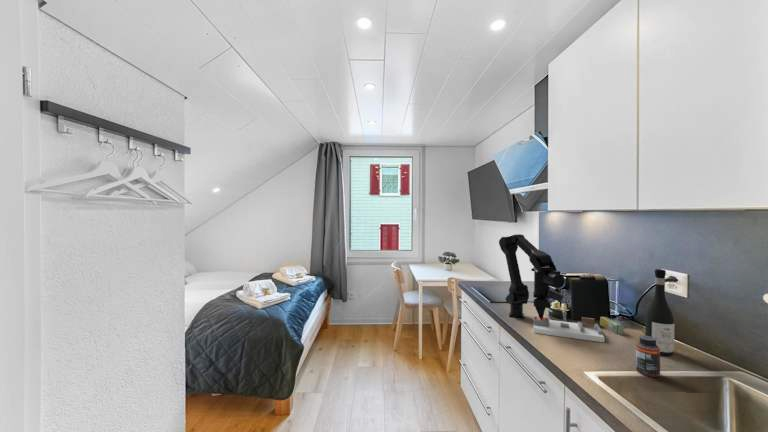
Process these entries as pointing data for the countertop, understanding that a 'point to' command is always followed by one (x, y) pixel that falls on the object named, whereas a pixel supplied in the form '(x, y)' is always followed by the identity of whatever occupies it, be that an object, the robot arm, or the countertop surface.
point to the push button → (540, 319)
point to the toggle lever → (564, 315)
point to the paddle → (588, 322)
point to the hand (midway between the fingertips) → (541, 318)
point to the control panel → (568, 330)
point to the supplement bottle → (648, 357)
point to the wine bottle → (660, 317)
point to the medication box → (612, 325)
